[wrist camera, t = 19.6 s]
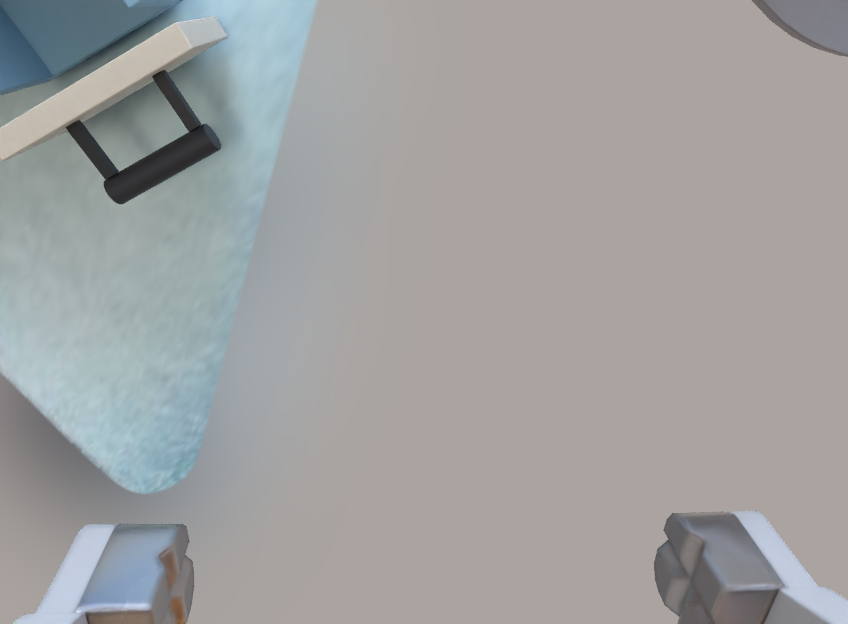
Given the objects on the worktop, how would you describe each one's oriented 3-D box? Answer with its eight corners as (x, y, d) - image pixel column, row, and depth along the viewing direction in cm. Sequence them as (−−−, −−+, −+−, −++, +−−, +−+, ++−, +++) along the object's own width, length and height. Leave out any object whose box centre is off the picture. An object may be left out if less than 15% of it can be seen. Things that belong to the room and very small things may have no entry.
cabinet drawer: (272, 109, 36) (250, 138, 29) (123, 194, 37) (67, 240, 30) (67, -230, 29) (-29, -300, 22) (-110, -109, 30) (-252, -138, 23)
